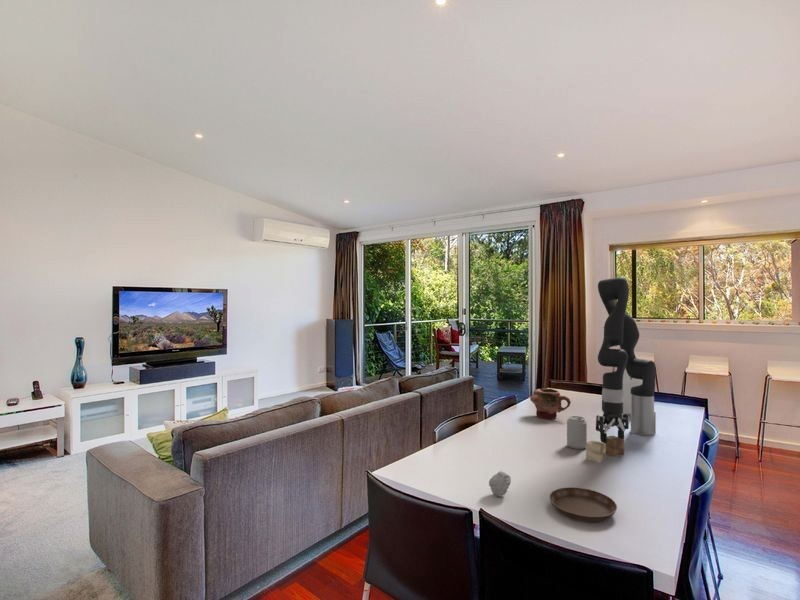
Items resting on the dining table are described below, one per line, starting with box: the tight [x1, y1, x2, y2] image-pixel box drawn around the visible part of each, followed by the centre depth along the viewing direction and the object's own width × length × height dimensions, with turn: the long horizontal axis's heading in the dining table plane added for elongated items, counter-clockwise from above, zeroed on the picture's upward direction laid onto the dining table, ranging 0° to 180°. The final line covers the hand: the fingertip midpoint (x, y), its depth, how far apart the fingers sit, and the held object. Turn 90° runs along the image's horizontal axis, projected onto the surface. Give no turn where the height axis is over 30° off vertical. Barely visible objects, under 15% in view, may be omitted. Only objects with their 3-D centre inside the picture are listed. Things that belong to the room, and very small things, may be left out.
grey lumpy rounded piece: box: [488, 470, 512, 497], centre depth 130 cm, size 6×7×7 cm
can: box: [566, 415, 588, 450], centre depth 173 cm, size 8×8×12 cm
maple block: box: [585, 439, 607, 463], centre depth 160 cm, size 5×5×6 cm
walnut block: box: [606, 435, 625, 457], centre depth 166 cm, size 5×5×6 cm
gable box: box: [623, 368, 643, 415], centre depth 231 cm, size 22×13×28 cm, turn 151°
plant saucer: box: [549, 486, 618, 524], centre depth 121 cm, size 18×18×3 cm
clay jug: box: [529, 388, 571, 421], centre depth 216 cm, size 20×12×14 cm, turn 60°
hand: (612, 441), depth 166 cm, fingers open, 8 cm apart
